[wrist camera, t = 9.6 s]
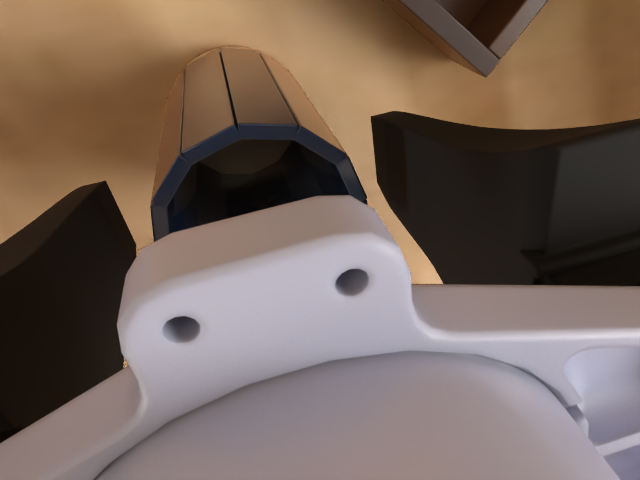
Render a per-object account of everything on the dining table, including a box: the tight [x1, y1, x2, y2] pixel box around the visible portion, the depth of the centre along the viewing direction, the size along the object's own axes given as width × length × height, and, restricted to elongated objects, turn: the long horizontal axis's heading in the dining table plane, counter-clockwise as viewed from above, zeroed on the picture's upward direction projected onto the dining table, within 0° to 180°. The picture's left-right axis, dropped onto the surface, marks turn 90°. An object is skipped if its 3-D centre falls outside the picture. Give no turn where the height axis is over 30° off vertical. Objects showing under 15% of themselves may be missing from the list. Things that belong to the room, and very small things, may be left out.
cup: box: [150, 46, 367, 242], centre depth 14 cm, size 5×5×8 cm
